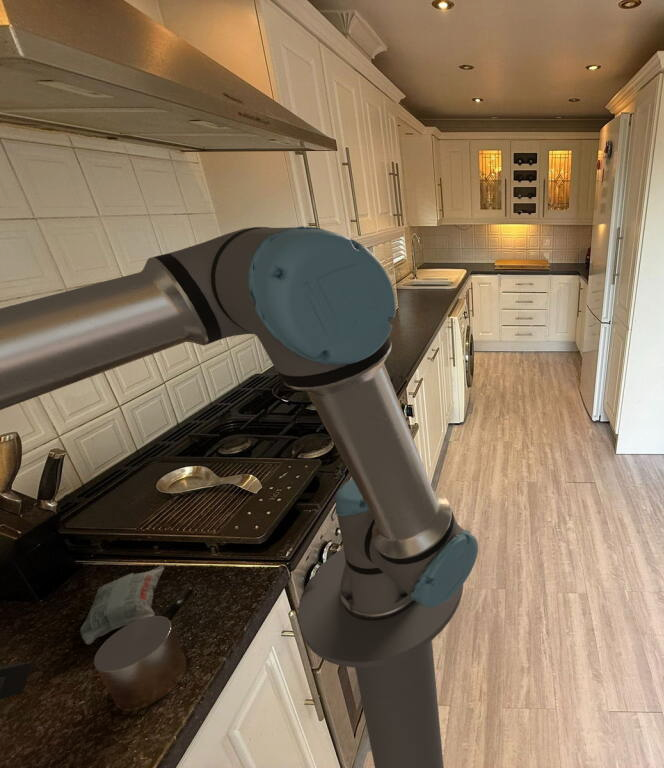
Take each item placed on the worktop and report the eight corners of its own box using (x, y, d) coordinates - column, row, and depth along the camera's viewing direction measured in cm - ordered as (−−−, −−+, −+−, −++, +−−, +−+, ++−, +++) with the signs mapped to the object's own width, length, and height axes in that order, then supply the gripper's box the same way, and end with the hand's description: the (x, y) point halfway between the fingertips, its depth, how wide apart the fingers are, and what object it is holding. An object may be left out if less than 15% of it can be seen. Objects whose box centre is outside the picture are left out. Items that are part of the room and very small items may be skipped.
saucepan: (225, 613, 69) (213, 577, 66) (160, 709, 55) (141, 669, 52) (176, 615, 69) (161, 579, 66) (98, 712, 55) (76, 673, 52)
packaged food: (168, 576, 76) (159, 556, 74) (157, 627, 66) (146, 605, 65) (106, 597, 72) (95, 576, 70) (84, 654, 62) (71, 632, 60)
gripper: (-701, 914, 19) (-67, 726, 41) (-387, 891, 20) (72, 718, 41) (-541, 715, 22) (-30, 638, 44) (-273, 701, 23) (99, 633, 44)
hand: (19, 677), depth 42 cm, fingers closed
